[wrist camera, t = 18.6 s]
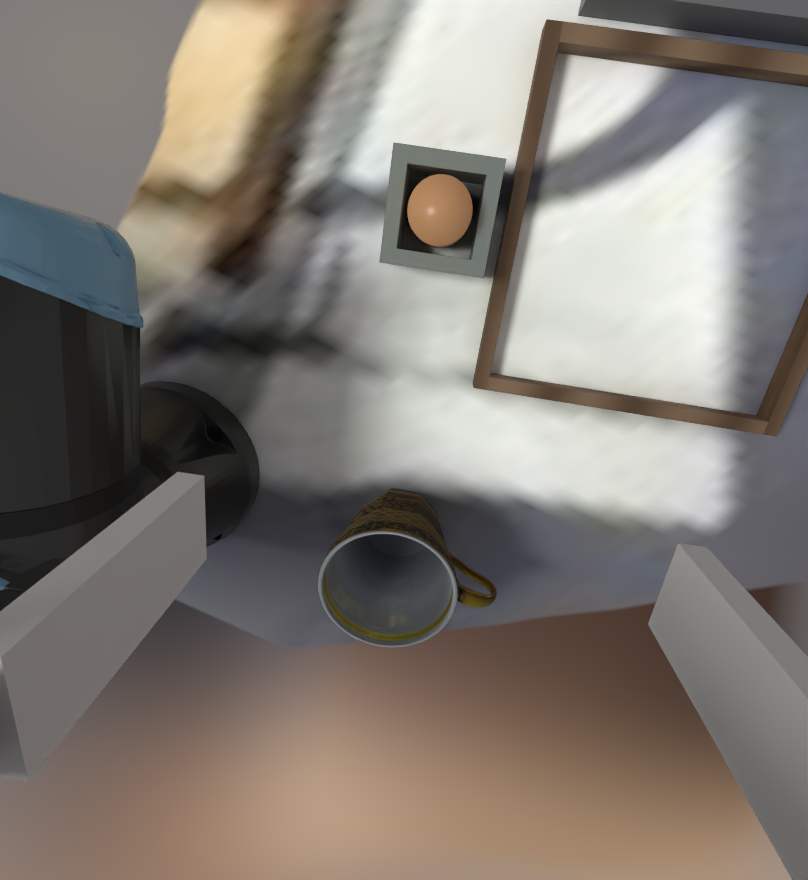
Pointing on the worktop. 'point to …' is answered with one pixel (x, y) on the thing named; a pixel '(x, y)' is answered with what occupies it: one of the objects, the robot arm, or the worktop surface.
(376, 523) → the ceramic cup
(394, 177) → the button housing
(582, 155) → the worktop surface
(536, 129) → the wooden flat square frame
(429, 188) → the button
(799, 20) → the tray
